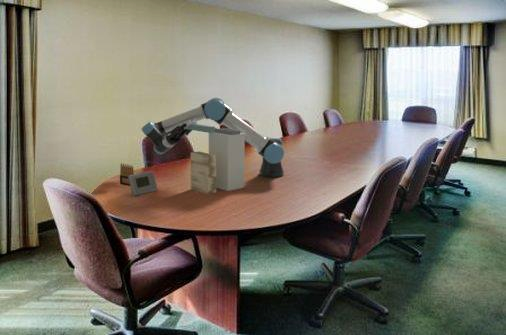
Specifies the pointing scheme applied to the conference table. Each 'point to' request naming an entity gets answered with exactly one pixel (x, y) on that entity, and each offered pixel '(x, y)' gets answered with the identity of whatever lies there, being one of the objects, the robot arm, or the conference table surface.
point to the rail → (201, 128)
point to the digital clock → (142, 183)
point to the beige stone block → (203, 172)
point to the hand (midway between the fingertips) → (193, 121)
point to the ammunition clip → (125, 174)
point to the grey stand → (228, 157)
